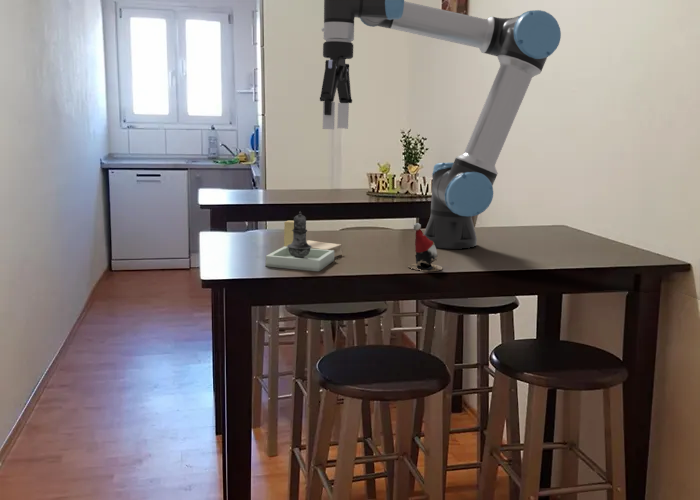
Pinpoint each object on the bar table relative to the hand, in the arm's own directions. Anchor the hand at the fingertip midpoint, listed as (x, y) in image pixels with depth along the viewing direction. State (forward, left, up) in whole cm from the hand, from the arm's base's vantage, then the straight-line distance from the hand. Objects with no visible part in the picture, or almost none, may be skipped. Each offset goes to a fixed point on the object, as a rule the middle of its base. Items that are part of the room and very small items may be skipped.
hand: (335, 128), depth 179 cm
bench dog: (+10, +5, -32) cm, 33 cm away
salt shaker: (+4, +17, -31) cm, 36 cm away
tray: (+3, +17, -32) cm, 36 cm away
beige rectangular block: (+3, +5, -32) cm, 33 cm away
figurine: (-26, +10, -32) cm, 42 cm away
